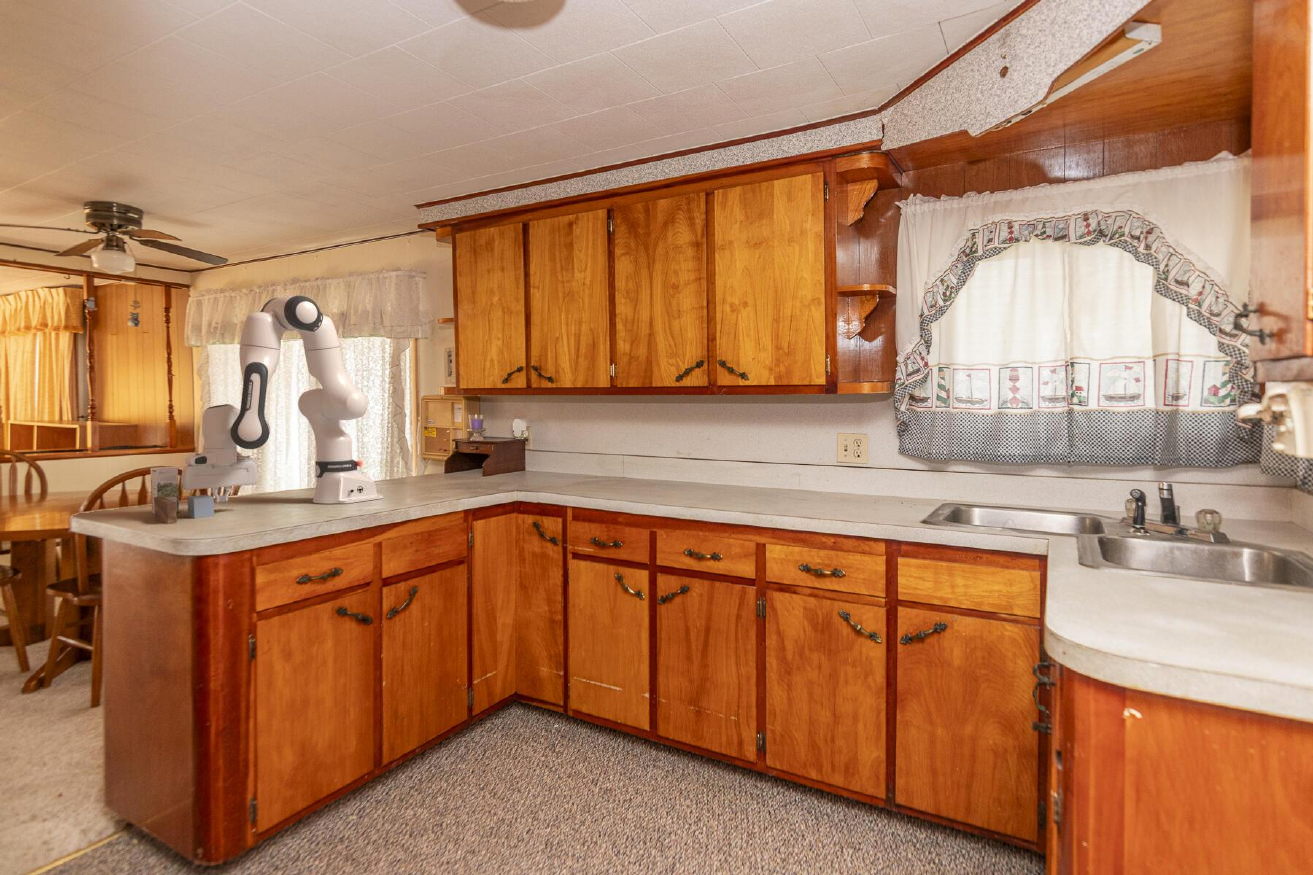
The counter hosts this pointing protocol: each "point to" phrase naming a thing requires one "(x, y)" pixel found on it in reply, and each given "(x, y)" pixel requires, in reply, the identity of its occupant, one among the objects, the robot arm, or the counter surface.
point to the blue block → (200, 506)
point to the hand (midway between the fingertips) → (221, 501)
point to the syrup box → (165, 484)
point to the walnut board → (165, 509)
